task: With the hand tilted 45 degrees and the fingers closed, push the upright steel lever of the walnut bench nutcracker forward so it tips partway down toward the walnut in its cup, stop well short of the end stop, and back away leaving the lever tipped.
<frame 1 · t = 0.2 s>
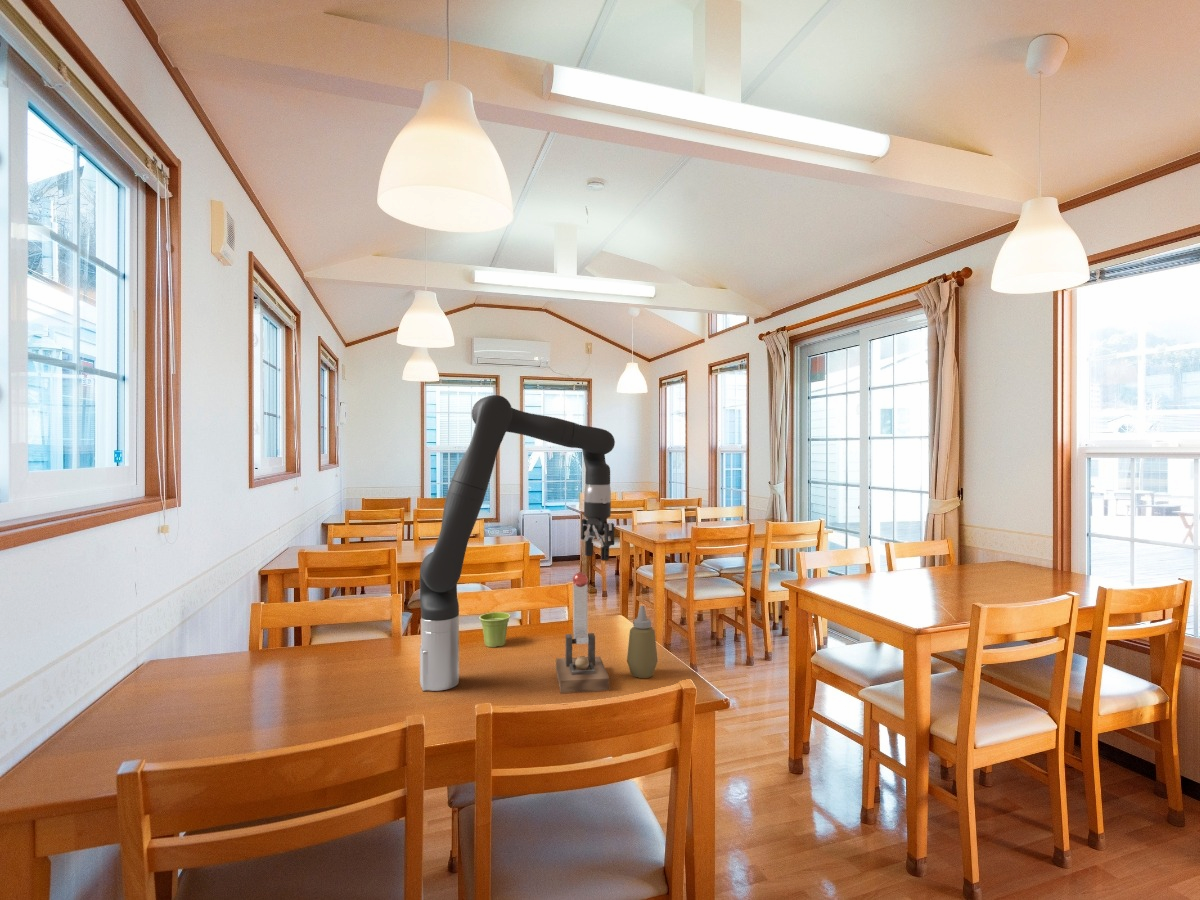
hand: (596, 558, 170), 29 cm above the table, tool pointing down, fingers open, 8 cm apart
squeeze bottle: (642, 675, 159), on the table
nutcracker base: (581, 679, 155), on the table
lever: (580, 606, 157), point 19 cm above the table, hinge at 0.0°
walnut: (582, 670, 154), point 3 cm above the table, touching nutcracker base
plant pot: (494, 645, 184), on the table
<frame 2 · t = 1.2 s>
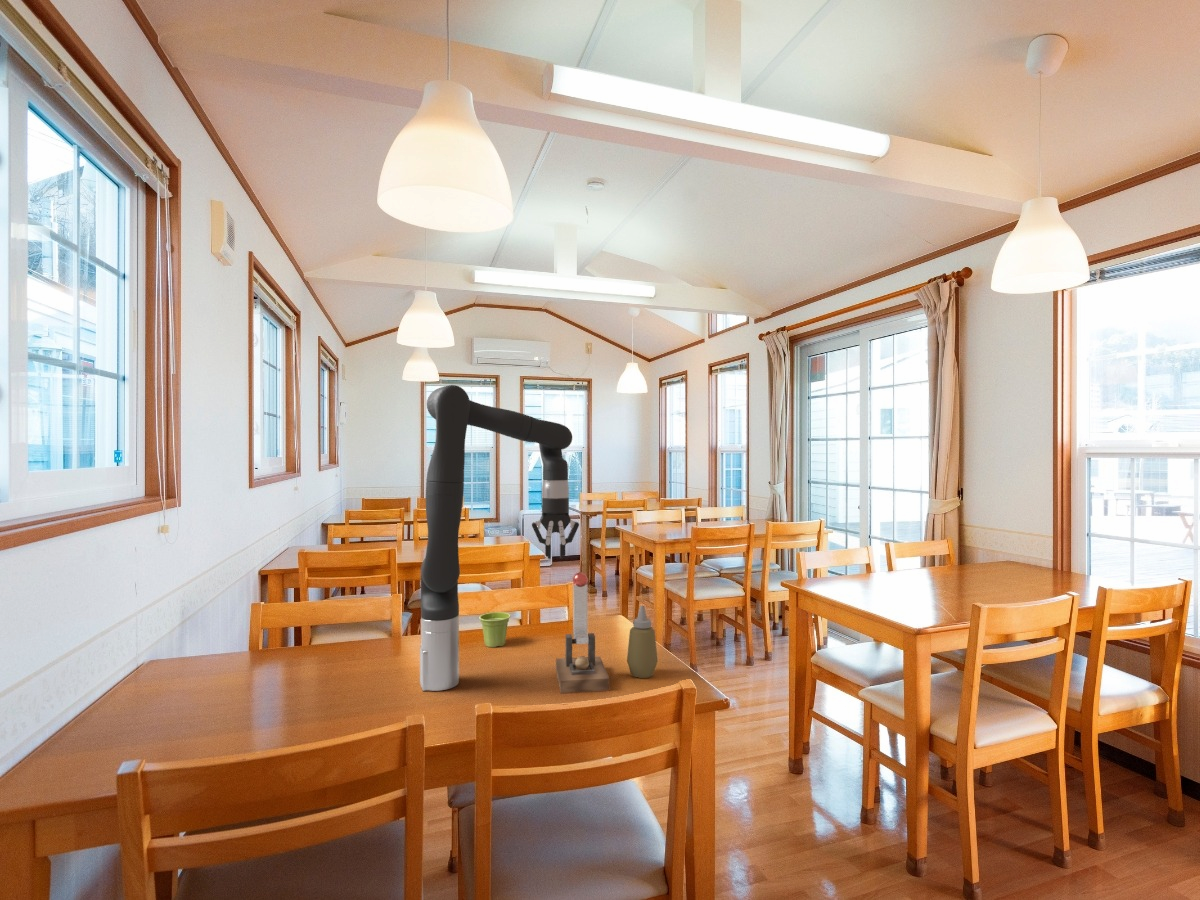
hand: (555, 557, 169), 29 cm above the table, tool pointing down, fingers open, 3 cm apart
nothing on the table moved.
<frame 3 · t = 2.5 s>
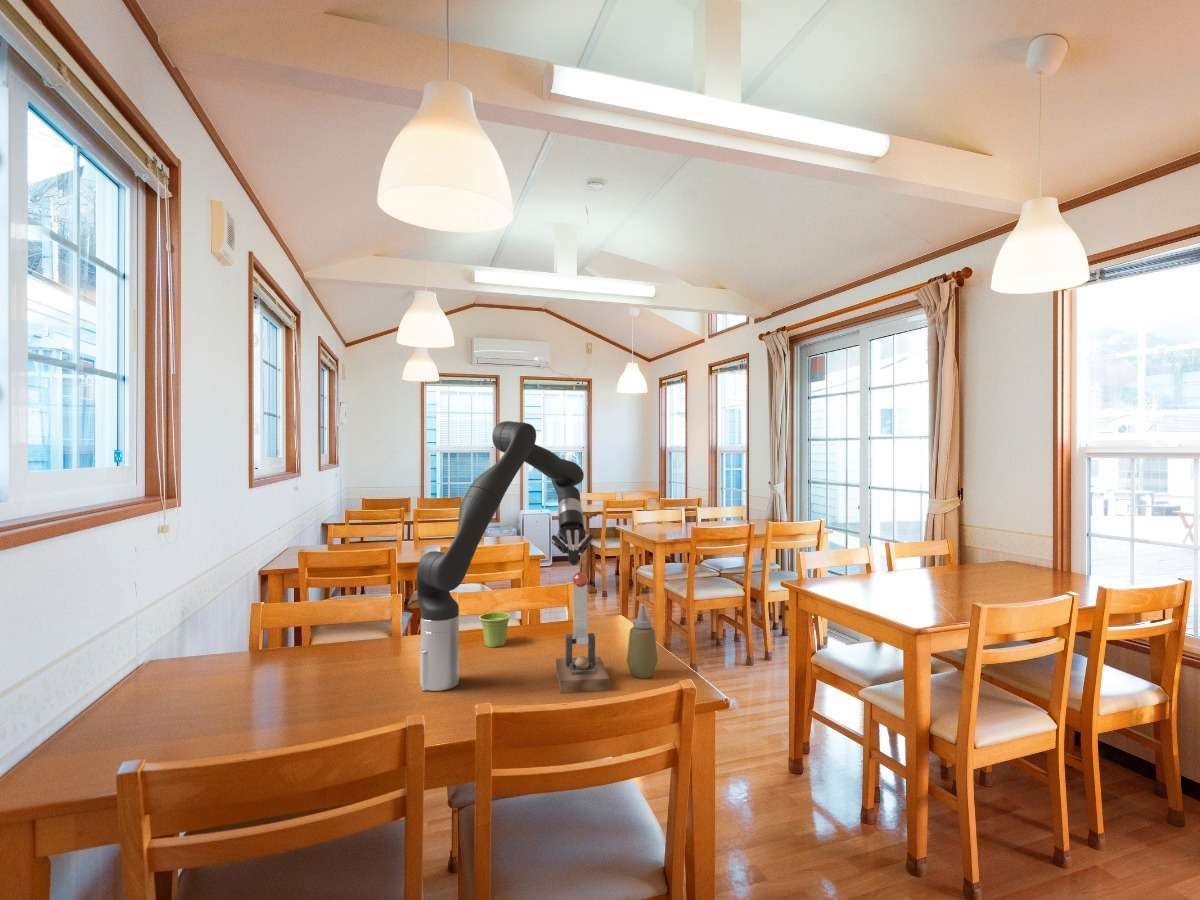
hand: (574, 563, 173), 27 cm above the table, tool tilted 45°, fingers closed
nothing on the table moved.
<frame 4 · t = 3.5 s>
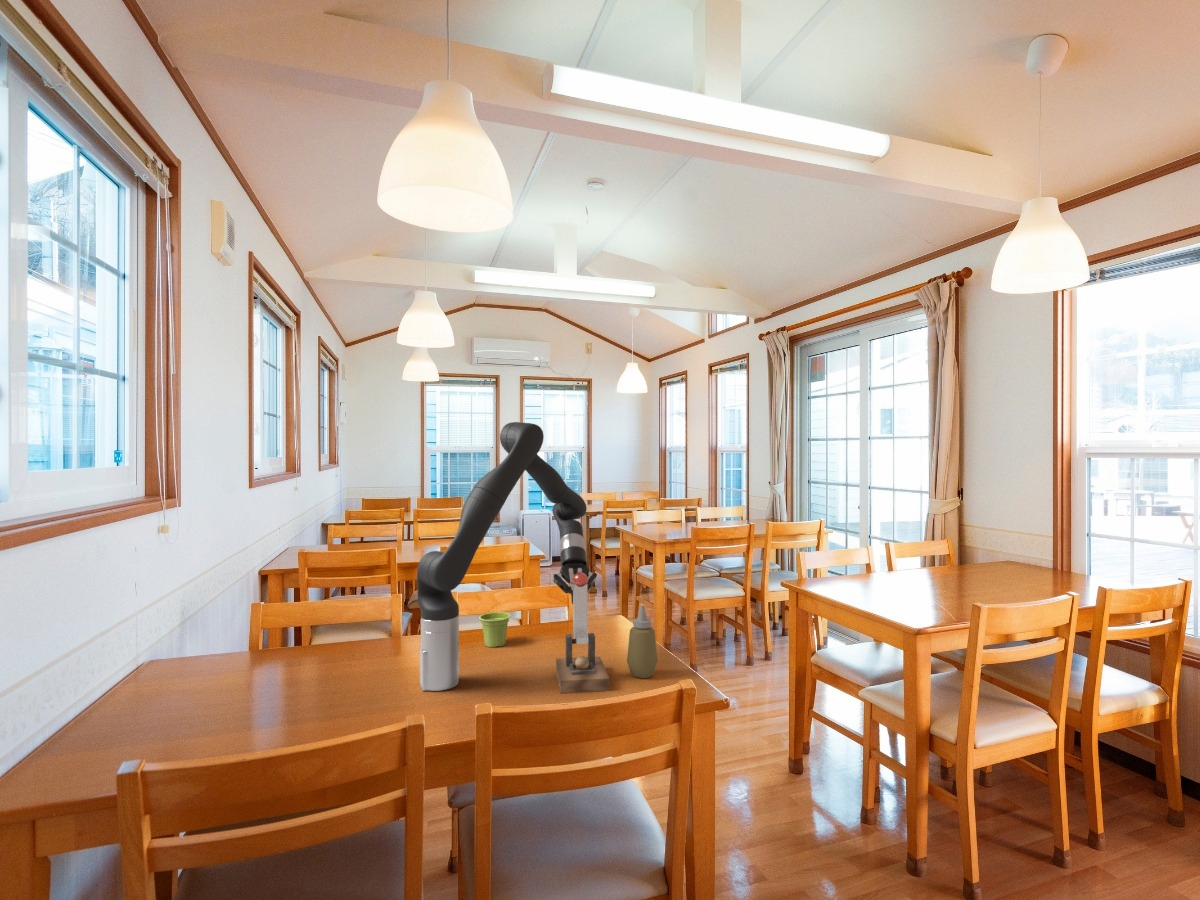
hand: (577, 604, 165), 17 cm above the table, tool tilted 45°, fingers closed
nothing on the table moved.
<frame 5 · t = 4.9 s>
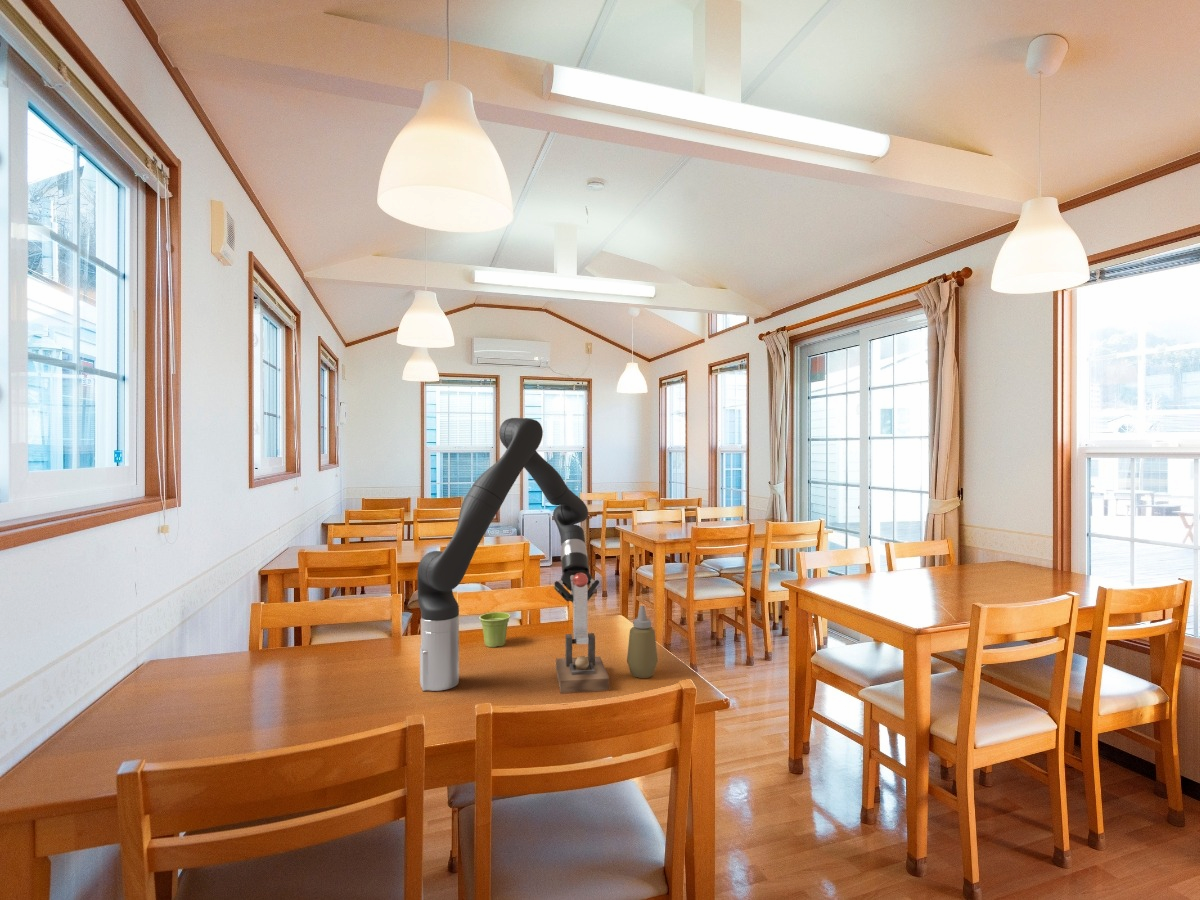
hand: (579, 613, 160), 16 cm above the table, tool tilted 45°, fingers closed
lever: (581, 606, 157), point 18 cm above the table, hinge at 0.8°, touching gripper
everything else where it was.
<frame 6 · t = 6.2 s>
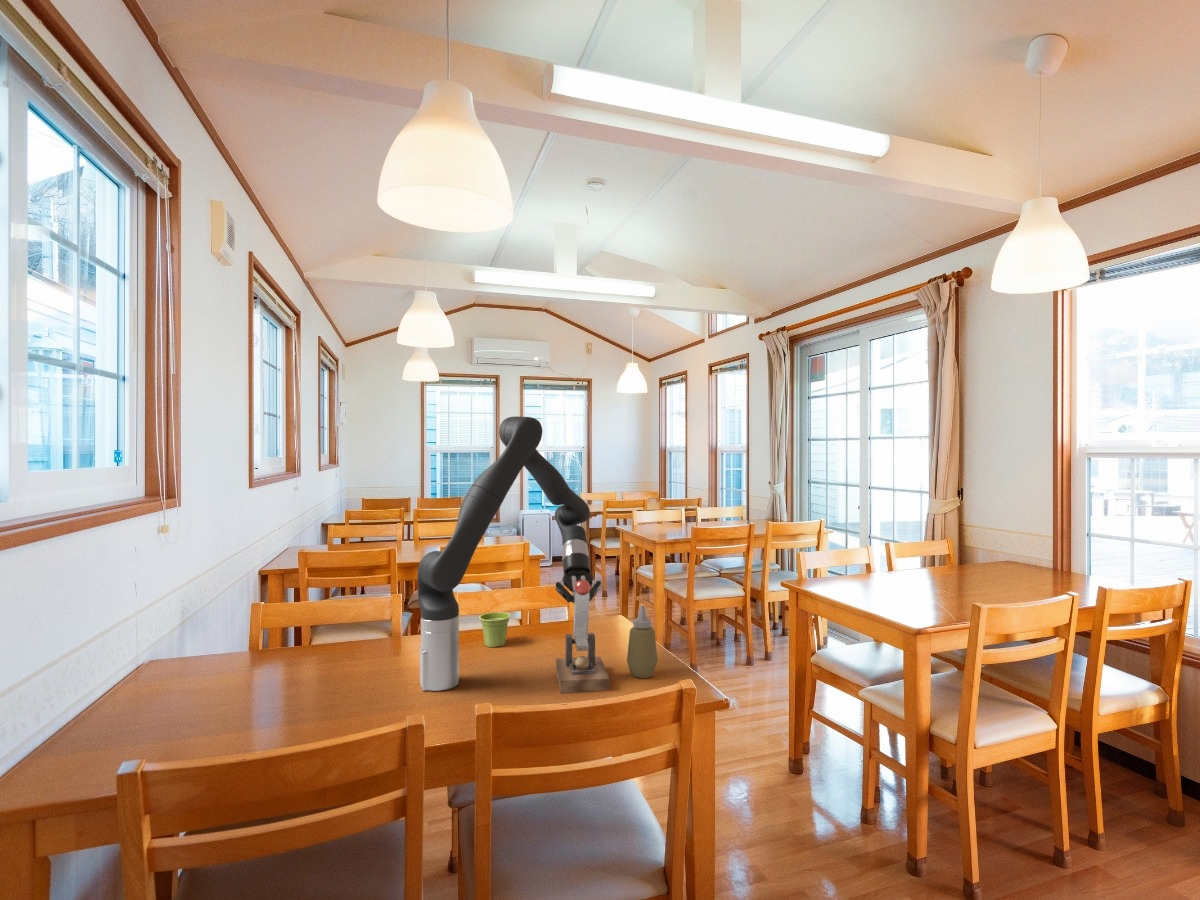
hand: (580, 614, 158), 16 cm above the table, tool tilted 45°, fingers closed
lever: (582, 613, 154), point 17 cm above the table, hinge at 18.3°
everything else where it was.
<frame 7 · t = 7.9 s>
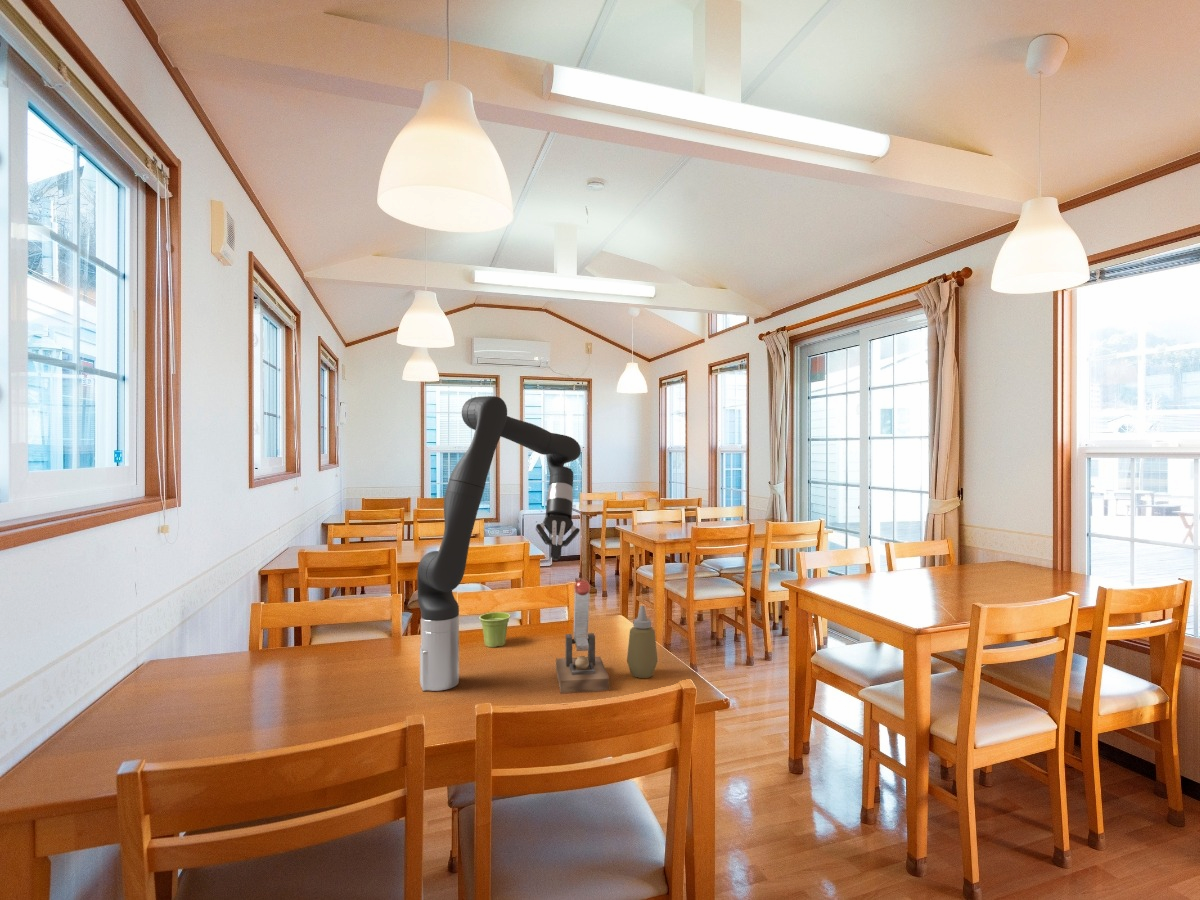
hand: (555, 559, 167), 29 cm above the table, tool tilted 30°, fingers closed
nothing on the table moved.
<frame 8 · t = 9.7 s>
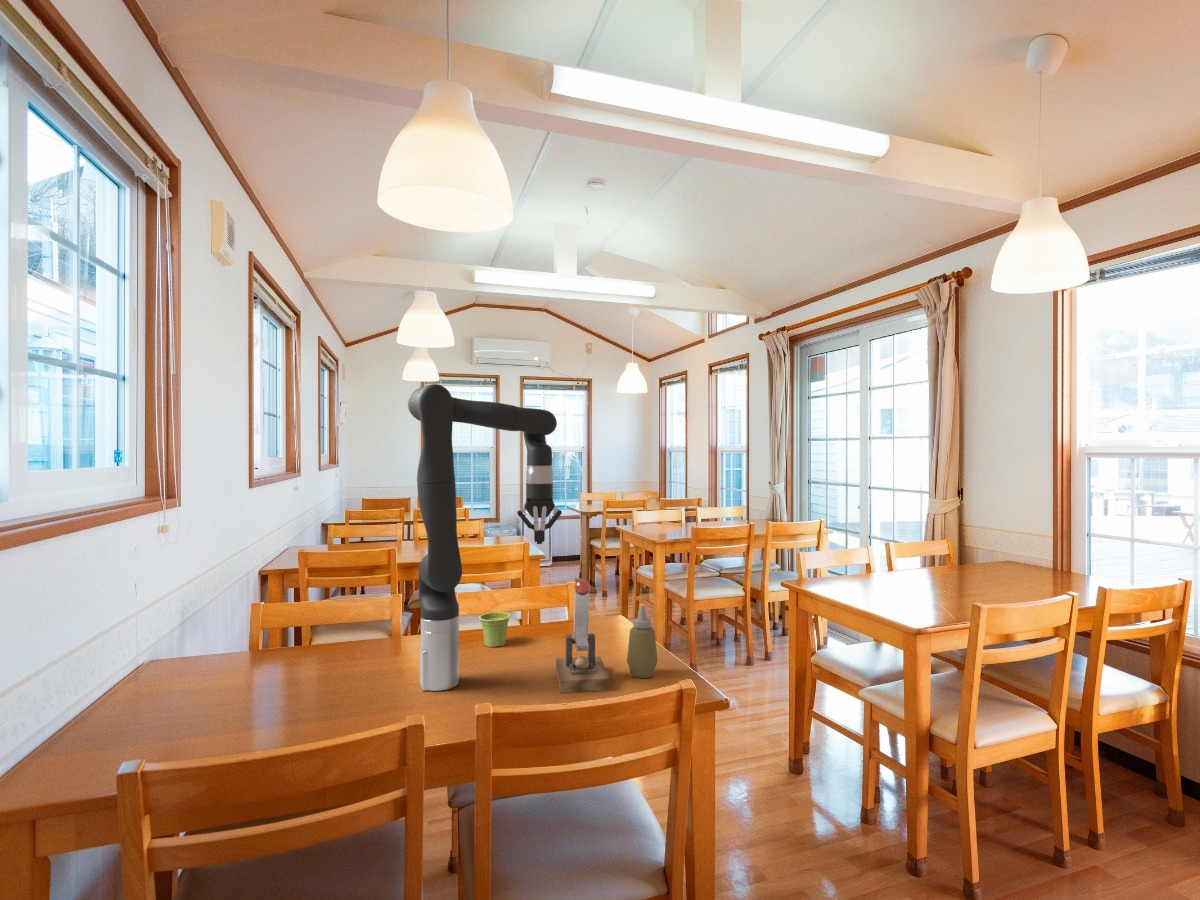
hand: (539, 543, 169), 33 cm above the table, tool pointing down, fingers closed
nothing on the table moved.
at the end: lever at +18° (first picture: +0°); walnut moved 0.1 cm from its start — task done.
